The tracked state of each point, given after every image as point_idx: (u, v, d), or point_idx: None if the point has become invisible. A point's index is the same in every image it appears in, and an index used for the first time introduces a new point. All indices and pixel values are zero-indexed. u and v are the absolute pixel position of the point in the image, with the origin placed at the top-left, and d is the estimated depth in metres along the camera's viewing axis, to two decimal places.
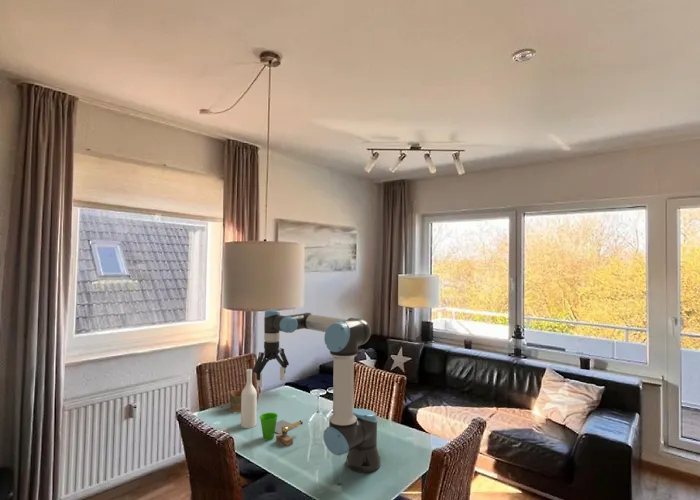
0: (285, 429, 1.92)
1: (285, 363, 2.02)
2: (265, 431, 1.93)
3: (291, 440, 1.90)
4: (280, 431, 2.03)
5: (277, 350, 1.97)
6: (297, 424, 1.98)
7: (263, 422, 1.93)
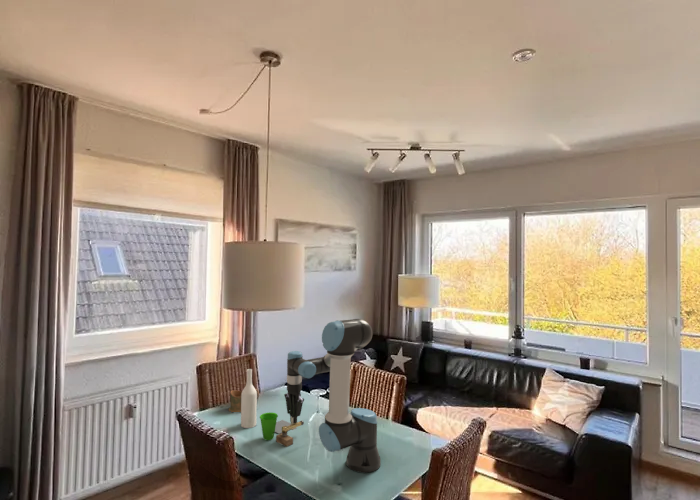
0: (285, 429, 1.91)
1: None
2: (265, 431, 1.93)
3: (291, 440, 1.90)
4: (280, 431, 2.03)
5: (296, 394, 1.96)
6: (298, 424, 1.98)
7: (263, 422, 1.93)
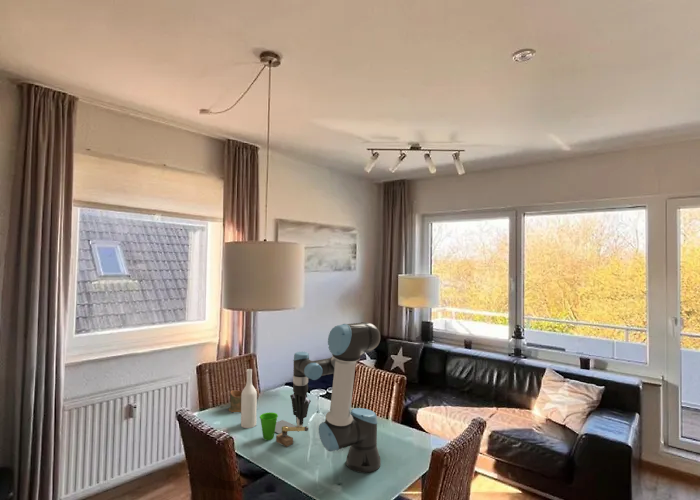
0: (283, 429, 1.92)
1: None
2: (265, 431, 1.93)
3: (291, 440, 1.90)
4: (280, 431, 2.03)
5: (303, 396, 1.93)
6: (300, 429, 1.93)
7: (263, 422, 1.93)
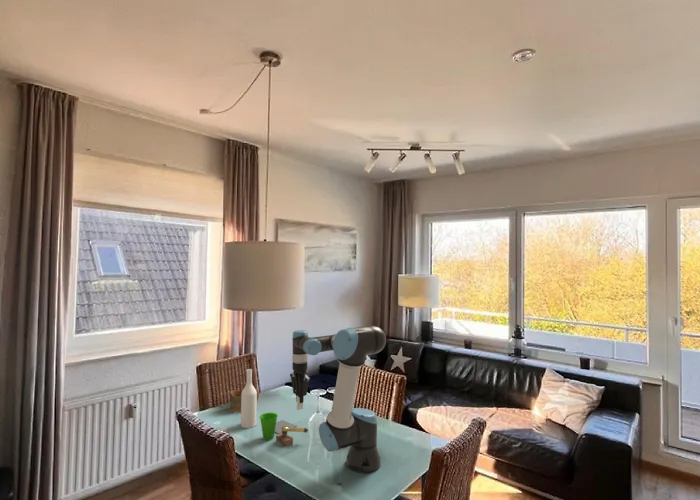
0: (282, 429, 1.92)
1: None
2: (265, 431, 1.93)
3: (291, 440, 1.90)
4: (280, 431, 2.03)
5: (302, 373, 1.93)
6: (299, 430, 1.92)
7: (263, 422, 1.93)
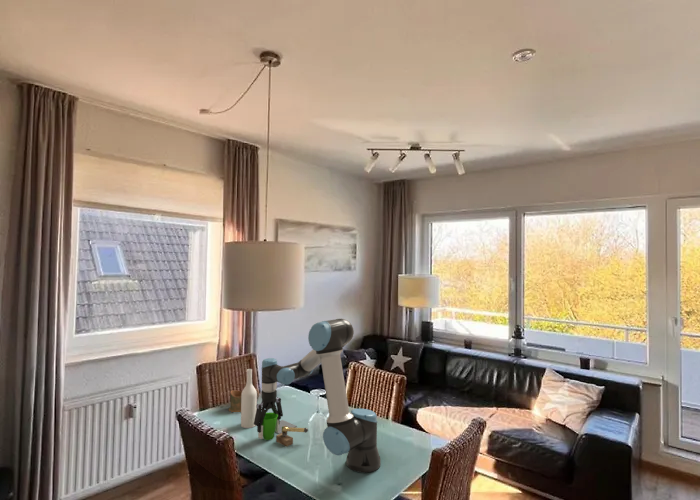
0: (282, 429, 1.92)
1: (279, 414, 2.02)
2: (265, 431, 1.93)
3: (291, 440, 1.90)
4: (280, 431, 2.03)
5: (275, 399, 1.98)
6: (299, 430, 1.92)
7: (263, 422, 1.93)
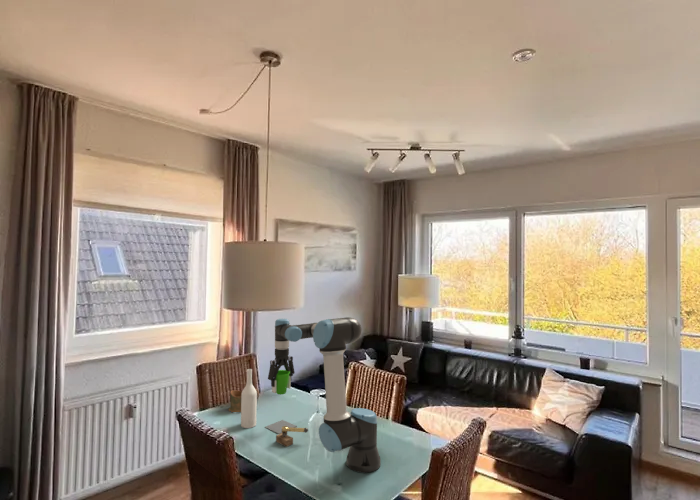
0: (282, 429, 1.92)
1: (291, 371, 2.14)
2: (278, 386, 2.06)
3: (291, 440, 1.90)
4: (280, 431, 2.03)
5: (287, 356, 2.11)
6: (299, 430, 1.92)
7: (276, 377, 2.06)
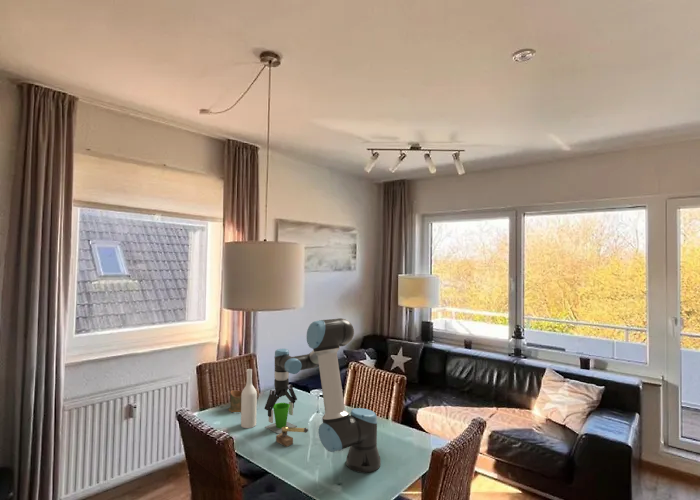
0: (282, 429, 1.92)
1: (293, 398, 2.15)
2: (278, 420, 2.06)
3: (291, 440, 1.90)
4: (280, 431, 2.03)
5: (286, 387, 2.10)
6: (299, 430, 1.92)
7: (276, 411, 2.06)
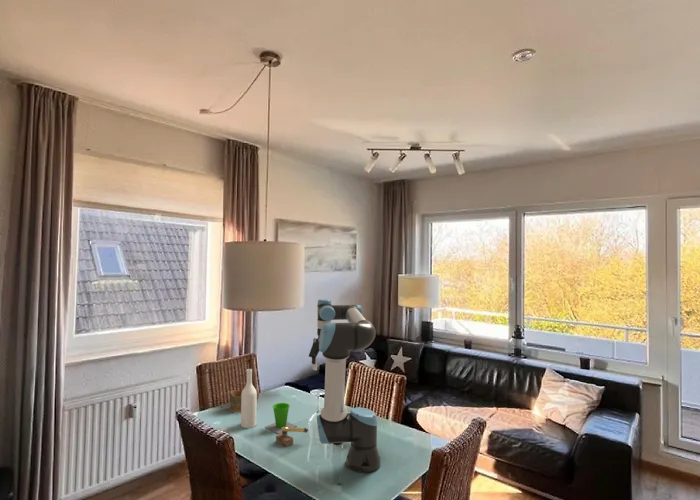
0: (282, 429, 1.92)
1: None
2: (278, 420, 2.06)
3: (291, 440, 1.90)
4: (280, 431, 2.03)
5: None
6: (299, 430, 1.92)
7: (276, 411, 2.06)
